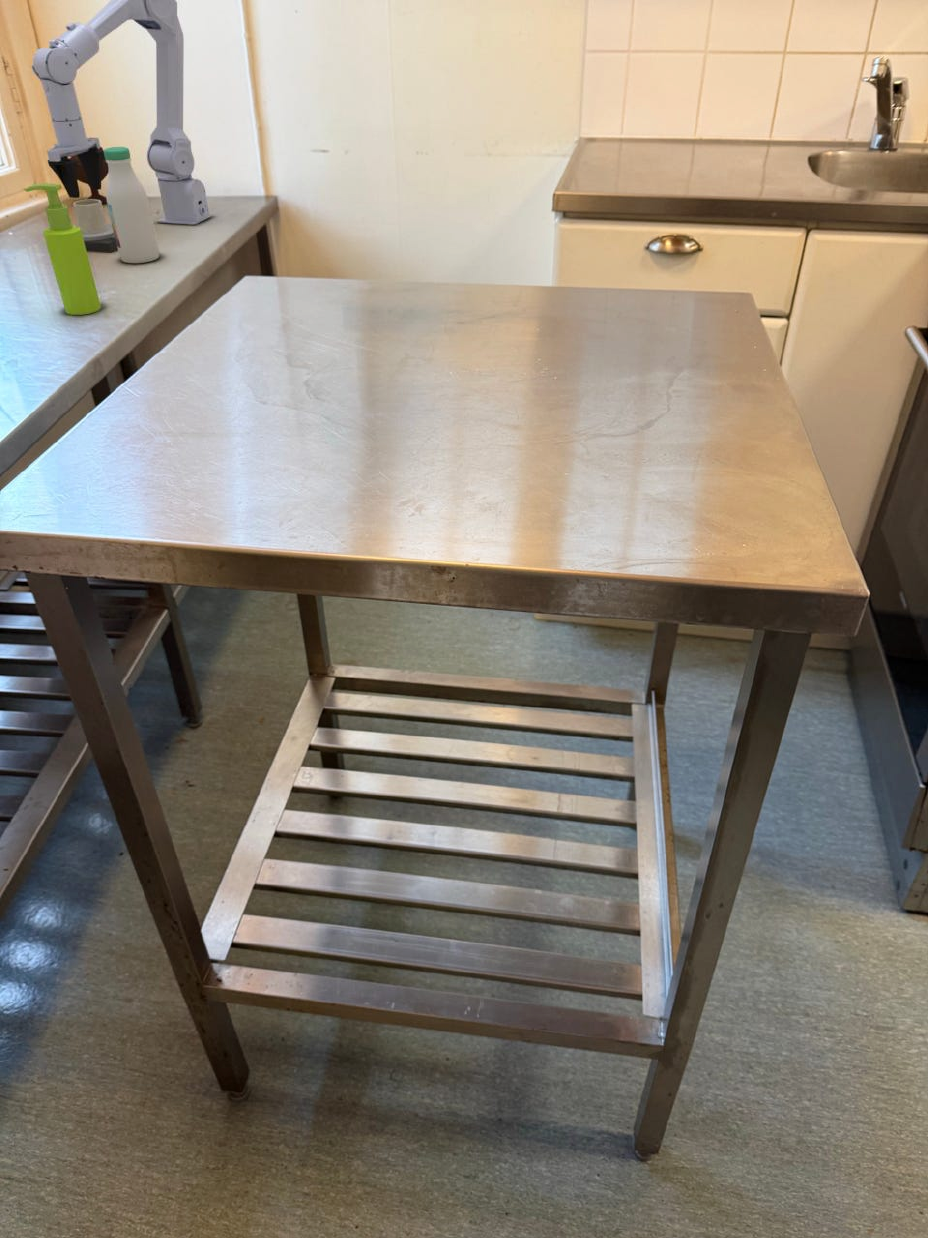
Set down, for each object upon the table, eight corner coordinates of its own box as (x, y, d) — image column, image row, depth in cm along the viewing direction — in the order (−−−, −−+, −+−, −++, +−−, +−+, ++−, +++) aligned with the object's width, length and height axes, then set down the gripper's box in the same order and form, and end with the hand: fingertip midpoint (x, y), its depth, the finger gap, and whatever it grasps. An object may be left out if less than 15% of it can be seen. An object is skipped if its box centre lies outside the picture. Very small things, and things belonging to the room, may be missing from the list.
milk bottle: (167, 254, 182) (145, 145, 170) (145, 265, 176) (120, 153, 164) (135, 251, 184) (111, 143, 172) (112, 262, 178) (85, 150, 166)
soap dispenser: (67, 303, 158) (33, 180, 146) (105, 303, 158) (74, 180, 146) (54, 314, 154) (17, 188, 141) (93, 314, 153) (60, 188, 141)
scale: (140, 238, 192) (137, 225, 191) (110, 252, 184) (107, 239, 182) (88, 234, 195) (85, 222, 194) (56, 248, 187) (53, 235, 185)
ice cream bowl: (106, 207, 215) (90, 137, 206) (64, 205, 217) (46, 136, 208) (128, 197, 223) (113, 129, 214) (88, 196, 225) (71, 128, 216)
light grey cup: (113, 227, 190) (106, 199, 186) (97, 234, 185) (90, 206, 182) (90, 226, 191) (83, 198, 188) (74, 232, 187) (67, 204, 183)
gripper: (71, 112, 184) (89, 184, 192) (26, 124, 173) (47, 200, 181) (101, 113, 183) (118, 185, 191) (57, 125, 172) (77, 201, 180)
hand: (85, 193), depth 186 cm, fingers open, 7 cm apart
